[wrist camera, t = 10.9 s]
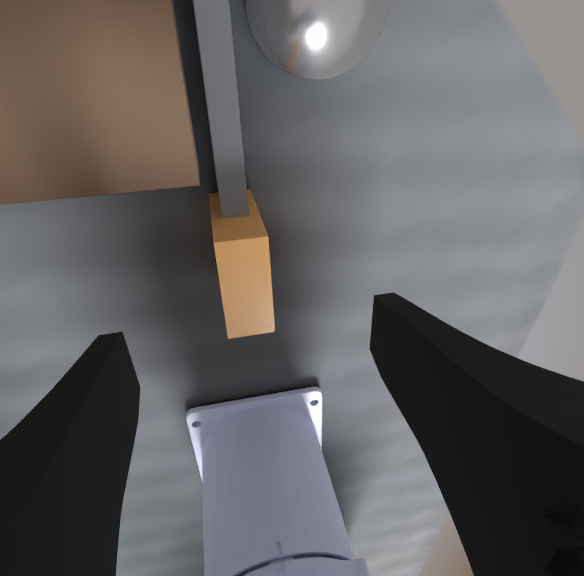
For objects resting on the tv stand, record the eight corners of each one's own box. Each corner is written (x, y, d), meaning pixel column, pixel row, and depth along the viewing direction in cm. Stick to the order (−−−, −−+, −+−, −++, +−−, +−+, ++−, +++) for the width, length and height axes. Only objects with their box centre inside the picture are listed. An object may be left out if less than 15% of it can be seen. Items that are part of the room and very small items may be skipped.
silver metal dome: (363, 78, 17) (378, 82, 15) (244, 73, 16) (249, 77, 14) (382, -78, 14) (402, -90, 13) (242, -95, 13) (248, -109, 12)
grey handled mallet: (257, 269, 20) (275, 331, 16) (220, 274, 20) (228, 338, 15) (220, -146, 12) (234, -239, 8) (159, -148, 12) (140, -245, 8)
